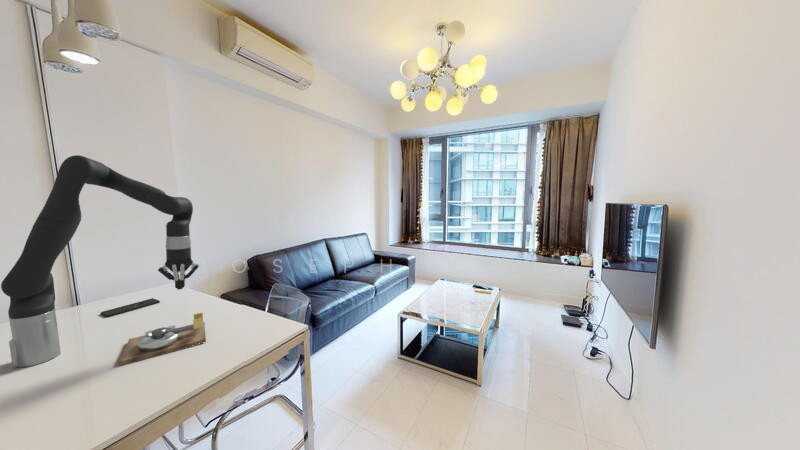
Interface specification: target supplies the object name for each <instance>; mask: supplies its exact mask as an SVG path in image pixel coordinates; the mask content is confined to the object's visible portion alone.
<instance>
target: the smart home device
mask: <svg viewBox="0 0 800 450" xmlns="http://www.w3.org/2000/svg"><path fill="white" fill-rule="evenodd" d="M160 303H161V300H159V299H156V298H154V297H152V298H149V299H148V298H147V299H145V300H141V301H137V302H134V303H129V304H125V305H122V306H118V307H116V308H111V309H107V310H103V311H100V315H101V316H103V317H105V318H111V317H112V318H113V317H115V316H119V315H122V314H126V313H129V312H133V311H137V310H140V309H143V308H147V307H150V306H153V305H157V304H160Z"/></svg>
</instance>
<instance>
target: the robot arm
mask: <svg viewBox="0 0 800 450" xmlns="http://www.w3.org/2000/svg"><path fill="white" fill-rule="evenodd" d="M85 184H86V185H93V186H99V187H103V188H108V189H111V190H114V191H117V192H120V193H121V194H123V195H125V196H126V197H129V198H130V199H133V200H135V201H137V202H140V203H142V204H146V205H148V206H151V207H153V208H154V209H156V210H158V212H161V213H163V214H166V215H169V216H172V219H171V220H169V221H168V222H167V223H166V224H165V229H166V233H165V235H166V238H165V239H166V240H165V253H166V254H165V255H166V259H165V260H166V261H165V263H164V265H163V266H160V267H159V268H158V269H157V271H158V272H159V273H161V275H163V276H164V277H165V278H166V279H168V280H169V281H174V285H175V286H174V288H175V289H177V290H183V288H185V286H186V281H185V280H186V279H189V278H190V277H191V276H192V275H193V274H194V273H195V271H197V269H199V267H200V264H198V263H194V260H192V245H191V244H192V243H191V242H192V241H191V237H190V233H191V232H190V224H191V221H192V216H193V210H194V207H193V203H192V201H191V200H190V199H188V198H187V197H183V196H171V195H168V194H166V192H165V191H164V190H162V189H160V188H157V187H155V186H152V185H150V184H148V183H144V182H142V181H139V180H135V179H133V178H130V177H127V176H125V175H123V174H121V173H119V172H118V171H116V170H114V169H112V168H110V167H109V166H107V165H105V163H102V162H101V161H97V160H95V159H92V158H89V157H87V156H84V155H78V154H77V155H76V154H75V155H71V156H69V157H67V158H65V159H64V161H62V163H61V165H60V167H59V168H58V172H57V175H56V177H55V181H54V183H53V187H52V188H51V191H50V193H49V196H48V197H47V200H46V201H45V203H44V205H43V207H42V209H41V211H40V212H39V214H38V216H37V218H36V219H35V221H34V223H33V225H32V227H31V230H30V232H29V235H28V237H27V240H26V241H25V244H24V247H23V249H22V252H21V254H20V256H19V257H18V259H17V260H16V262H15V264H14V265H13V266H12V268H11V269H10V271H9V272H8V273H7V275H6V276H5V277H4V278H3V280H2V281H1V283H0V289H1V291H2V293H3V294H5V295H6V296H7V297H9V300H10V301H9V302H10V303H9V307H8V319H9V327H10V333H11V339H10V340H9V342H8V345H9V351H10V357H11V364H12V365H11V366H12V369H15V368H24V367H25V368H26V367H33V366H35V365H40V364H43V363H45V362H48V361H50V360H53V359H54V358H55V359H56V358H57V357H58V356H60V354H61V346H60V337H59V329H58V322H57V321H58V319H57V313H56V307H55V305H56V304H55V302H56V292H55V281H54V276H53V274H52V269H53V267H54V265H55V262H56V260H57V258H58V257H59V256H60V254H61V253H62V252H63V251H64V249H65V248H66V247H67V246H68V244H69V243H70V241H71V240H72V238H73V236H75V234H76V231H77V230H78V227H79V225H80V223H81V221H82V211H81V206H80V194H81V192H82V190H83V188H84V186H85ZM189 268H190V271H189V272H188V273H187V274H186V271H187V270H188V269H189ZM168 270H170V271H171V272H172V273H173V274H171V272H169V271H168Z"/></svg>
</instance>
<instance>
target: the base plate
mask: <svg viewBox="0 0 800 450" xmlns="http://www.w3.org/2000/svg"><path fill="white" fill-rule="evenodd" d="M190 325H193V323H192V324H189V325H187V326H190ZM205 325H206V324H205V321H203V327H202V328H197V329H193V330H189V331H184V332H180V339H179V340H178V341H177V342H175V343H174V344H172V345H170V346H167V347H165V348H162V349H158V350H154V351H140V350H139V349H138V340H139V339H140V338H142V337H143V336H145V334H144V335H141V336H137V337H132V338H129V339H128V340H127V344H125V345H126V346H125V347H124V349H123V352H122V354H121V356H120V358H119V361H118V366H119V365H121V366H124V365H127V363H128V364H130V363H131V362H132V363H134V362H138V360H139V361H142V359H143V360H146V359H145V358H147V359H150V358H154V357H156V356H157V355H158V356H161V355H164V353H165V354H168V352H169V353H172V351H173V352H176V351H179V350H178V349H180V350H183V349H182V348H184V349H186V348H185V347H187V348H190V347H189V346H191V347H193V346H192V345H195V346H197V345H196V344H198V345H200V344H199V343H202V344H204V343H203V342H207V339H206V327H205ZM185 326H186V325H184V326H183V327H185ZM181 327H182V326H180V327H178V328H181ZM175 350H176V351H175ZM153 356H154V357H153ZM149 357H150V358H149ZM132 363H131V364H132ZM123 364H124V365H123Z"/></svg>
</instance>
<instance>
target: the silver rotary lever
mask: <svg viewBox="0 0 800 450" xmlns="http://www.w3.org/2000/svg"><path fill="white" fill-rule="evenodd" d="M203 315H204V314H203V312H199V313H193V320H192V324H193V325H192V324H189V325H190V326H188V325H184V326H185V327H184V326H180V327H181V328H179V327H176V325H169V326H167V327H159V328H155V329H150V330H148V331H145V332H144V335H145V336H144V335H142V336H143V337H142V338H140V339H139V340H138V349H139V350H140V351H154V350H158V349H162V348H165V347H167V346H170V345H172V344H174V343H175V342H177V341H178V340H179V339H180V332H184V331H189V330H193V329H197V328H202V327H203V322H204V316H203Z"/></svg>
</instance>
